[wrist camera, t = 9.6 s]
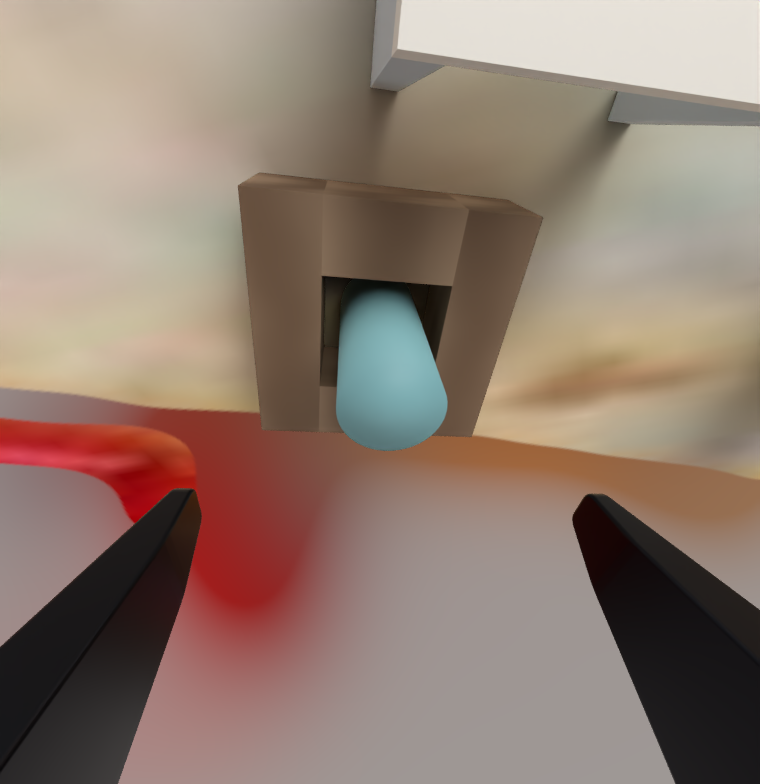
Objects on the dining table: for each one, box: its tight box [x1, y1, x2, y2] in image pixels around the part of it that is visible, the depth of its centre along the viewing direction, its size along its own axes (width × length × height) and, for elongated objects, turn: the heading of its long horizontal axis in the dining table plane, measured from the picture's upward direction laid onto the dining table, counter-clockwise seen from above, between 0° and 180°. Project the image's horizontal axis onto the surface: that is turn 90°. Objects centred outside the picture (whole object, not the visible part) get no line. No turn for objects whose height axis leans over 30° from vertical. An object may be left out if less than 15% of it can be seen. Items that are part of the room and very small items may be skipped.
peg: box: [336, 278, 448, 451], centre depth 15 cm, size 3×3×8 cm
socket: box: [238, 173, 543, 437], centre depth 17 cm, size 10×10×4 cm
